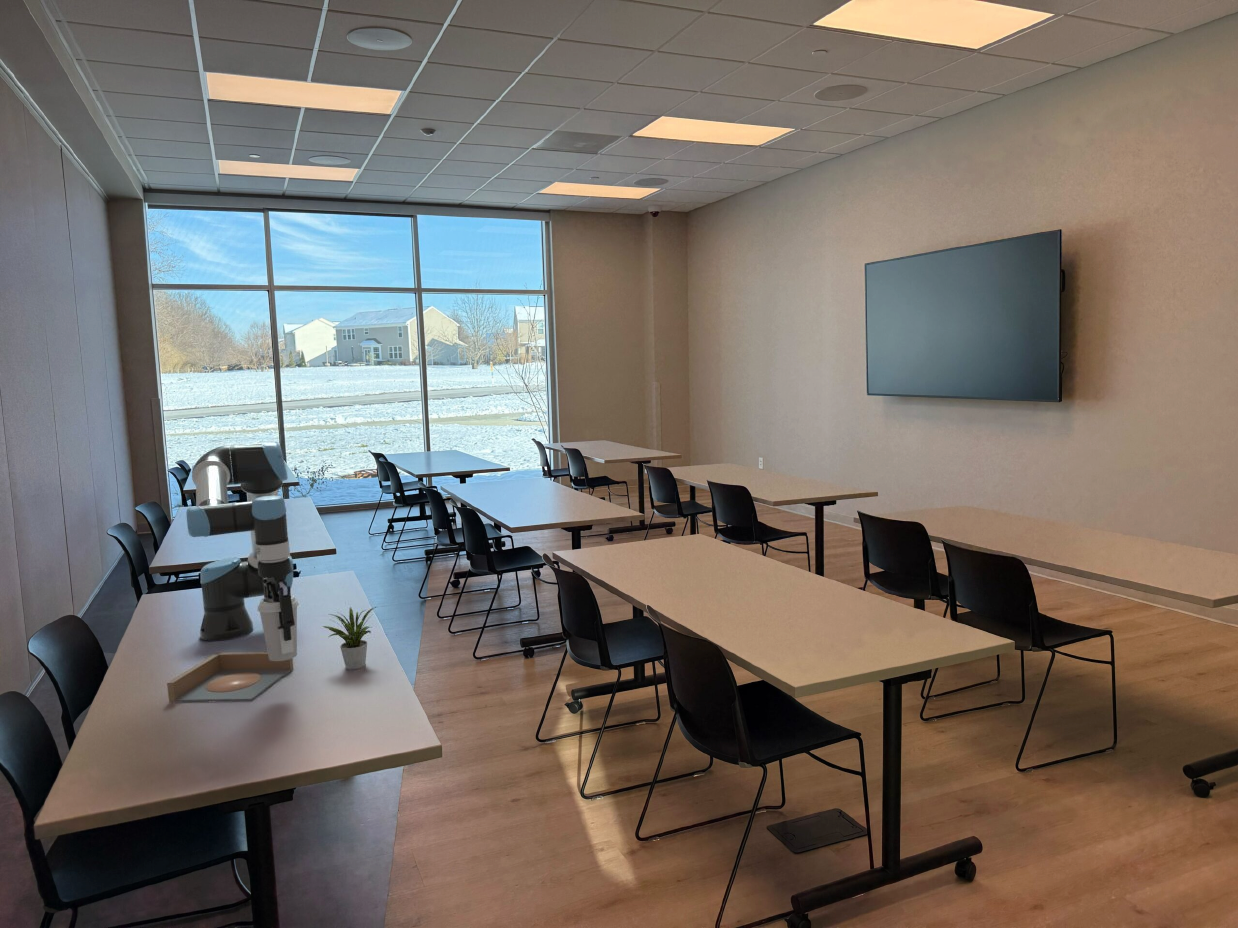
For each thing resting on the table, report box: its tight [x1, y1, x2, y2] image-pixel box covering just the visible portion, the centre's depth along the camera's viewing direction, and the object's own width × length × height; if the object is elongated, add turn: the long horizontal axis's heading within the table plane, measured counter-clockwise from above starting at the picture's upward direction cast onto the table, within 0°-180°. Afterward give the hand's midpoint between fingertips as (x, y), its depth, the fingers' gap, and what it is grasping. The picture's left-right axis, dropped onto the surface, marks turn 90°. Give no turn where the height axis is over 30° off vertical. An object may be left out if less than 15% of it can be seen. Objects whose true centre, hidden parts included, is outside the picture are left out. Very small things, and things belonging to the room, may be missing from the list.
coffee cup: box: [256, 594, 299, 661], centre depth 203 cm, size 10×10×15 cm
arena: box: [166, 651, 294, 703], centre depth 213 cm, size 22×22×5 cm
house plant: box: [322, 606, 377, 670], centre depth 223 cm, size 14×14×16 cm
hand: (282, 648), depth 204 cm, fingers closed on coffee cup, 7 cm apart
